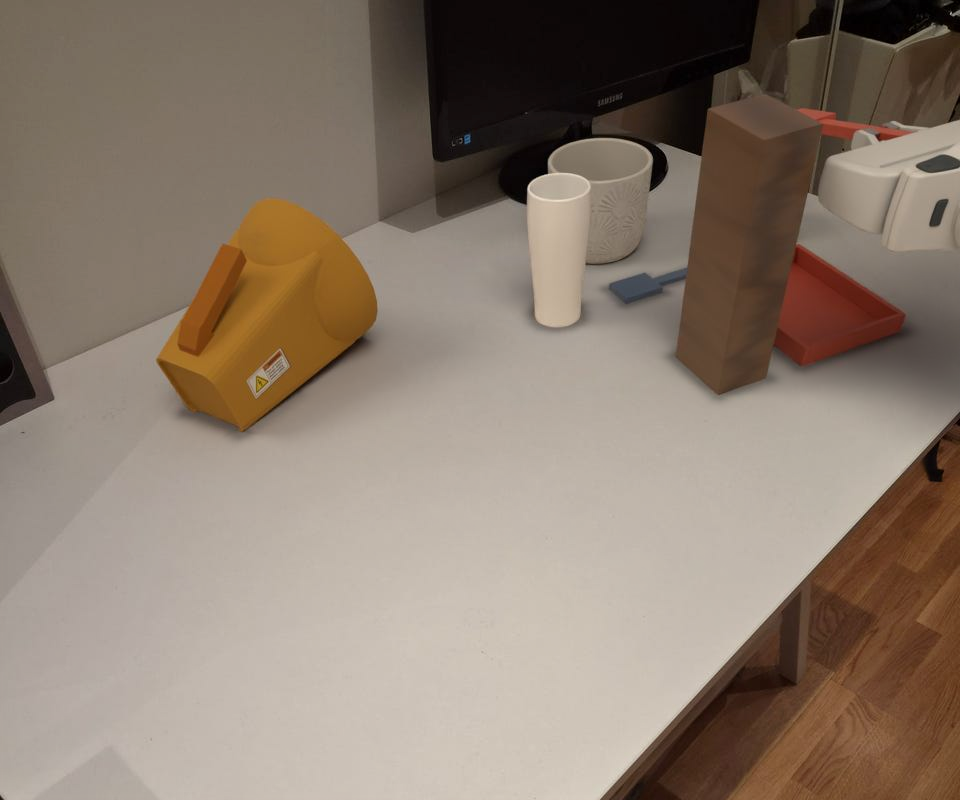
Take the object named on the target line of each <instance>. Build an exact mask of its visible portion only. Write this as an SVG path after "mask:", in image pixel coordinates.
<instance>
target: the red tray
mask: <svg viewBox="0 0 960 800" xmlns="http://www.w3.org/2000/svg"><path fill="white" fill-rule="evenodd" d="M906 316H907V314H906V312H904V311H902V310H901V309H899V308H898V307H896V306H894V305H893V304H892V303H890V302H889V301H887V300H886V299H884V298H883V297H882V296H879V295H878V294H876V293H875V292H873V291H872V290H871V289H869V288H867V287H866V286H864V285H863V284H861V283H860V282H859V281H857V280H855V279H854V278H852V277H850V276H848V275H847V274H846V273H845V272H843V271H841V270H840V269H838V268H837V267H835V266H834V265H833V264H831V263H829V262H828V261H827V260H825V259H823V258H821V257H820V256H819V255H817V254H815V253H814V252H812V251H810V250H809V249H807V248H806V247H805V246H803V245H801V244H800V243H796V248H795V252H794V257H793V261H792V265H791V270H790V274H789V279H788V283H787V287H786V292H785V296H784V301H783V305H782V310H781V314H780V318H779V323H778V327H777V332H776V336H775V340H774V345H773V347H776V348H777V349H778V350H779V351H781V352H782V353H783V354H785V355H786V356H787V357H788V358H790V359H791V360H792V361H794V362H795V363H797V365H799V366H800V367H804V366H807V365H811V364H812V363H815V362H818V361H821V360H824V359H827V358H830V357H833V356H835V355H838V354H841V353H845V352H847V351H850V350H852V349H855V348H859V347H860V346H864V345H867V344H869V343H872V342H875V341H878V340H880V339H883V338H886V337H889V336H892V335H894V334H897V333H900V332H901V331H902V328H903V326H904V322H905V320H906Z"/></svg>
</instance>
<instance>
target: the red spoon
mask: <svg viewBox="0 0 960 800" xmlns="http://www.w3.org/2000/svg"><path fill="white" fill-rule="evenodd" d="M797 110H798V111H799V112H801V113H803V114H805V115H807V116H809V117H811V118H813V119H815V120H817V121H819V122H821V123H823V129H822V133H821V135H823V136H829V137H835V138H841V139H847V140H851V141H852V140H853V136H854V133H855V132H856V131H858V130H863V129H867V128H872V129H873V130H876V131H878V132H880V136H879V140H878V141H879V142H880V141H883V140H884V141H886V140H890V139H893V138H897V137H901V136H904V135H908V134H911V133H915V132H910V131H903V130H897V129H890V128H884V127H879V126H877V125H870V124H865V123H864V124H863V123H858V122H852V121H851V122H849V121H844V120H838V119H836V118H837V113H836V112H832V111H824V110H817V109H812V108H804V107H802V108H799V109H797Z"/></svg>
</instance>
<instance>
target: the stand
mask: <svg viewBox="0 0 960 800" xmlns="http://www.w3.org/2000/svg"><path fill="white" fill-rule="evenodd" d="M822 129H823V123H821V122H819V121H817V120H815V119H813V118H811V117H809V116H807V115H805V114H803V113H801V112H799V111H798V109H797V108H794V107H791V106H790V105H788V104H786V103H784V102H782V101H780V100H778V99H776V98H774V97H772V96H770V95H768V94H766V93H762V94H758V95H755V96H751V97H747V98H744V99H740V100H736V101H732V102H729V103H725V104H720V105H716V106H713V107H710V108H708V109H707V112H706V119H705V128H704V133H703V134H704V135H703V143H702V150H701V158H700V167H699V173H698V182H697V190H696V197H695V204H694V213H693V220H692V227H691V235H690V244H689V250H688V256H687V257H688V258H687V264H686V266H687V267H686V268H687V273H686V279H685V281H684V288H683V296H682V305H681V310H680V311H681V312H680V319H679V327H678V333H677V334H678V336H677V343H676V351H675V359H677V360H678V361H679V362H680V363H681V364H682V365H684V367H686V368H687V369H688V370H689V371H690V372H691V373H692V374H694V375H695V376H696V377H697V378H698V379H699V380H700V381H701V382H702V383H703V384H705V385H706V387H708V388H709V389H710V390H711V391H713V392H714V393H715V394H716V395H717V396H720V395H723V394H726V393H728V392H731V391H734V390H737V389H740V388H742V387H743V388H744V387H746V386H748V385H750V384H755V383H756V382H759V381H763V380H765V379H767V375H768V371H769V367H770V362H771V358H772V354H773V353H772V352H773V350H774V340H775V336H776V332H777V327H778V323H779V318H780V314H781V310H782V305H783V301H784V296H785V292H786V287H787V283H788V279H789V274H790V270H791V265H792V261H793V257H794V252H795V248H796V244H798V239H799V234H800V229H801V225H802V220H803V216H804V212H805V208H806V205H807V204H806V203H807V199H808V195H809V189H810V185H811V180H812V177H813V173H814V172H813V171H814V168H815V163H816V160H817V155H818V150H819V146H820V142H821V137H822V134H821V133H822Z"/></svg>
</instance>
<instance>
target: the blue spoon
mask: <svg viewBox="0 0 960 800" xmlns="http://www.w3.org/2000/svg"><path fill="white" fill-rule="evenodd" d="M686 273H687V267H685V268H681V269H678V270H675V271H672V272H668V273H665V274H662V275H658V276H655V277H651V276H650V275H649V274H647V273H646V272H642V273H639V274H635V275H633V276H629V277H626V278H623V279H619V280H616V281H613V282H610V283H609V284H608V285H609V286H608V290H610V291H611V293H612V294H614V295H615V296H616V297H617V298H618V299H620V300H621V301H622V302H623V303H624V304H626V305H627V304H631V303H634V302H637V301H640V300H644V299H646V298H649V297H650V298H651V297H653V296H656V295H659V294H663V289H664V286H667V285H669V284H673V283H676V282H679V281H682V280H684V279H685V280H686Z"/></svg>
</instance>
